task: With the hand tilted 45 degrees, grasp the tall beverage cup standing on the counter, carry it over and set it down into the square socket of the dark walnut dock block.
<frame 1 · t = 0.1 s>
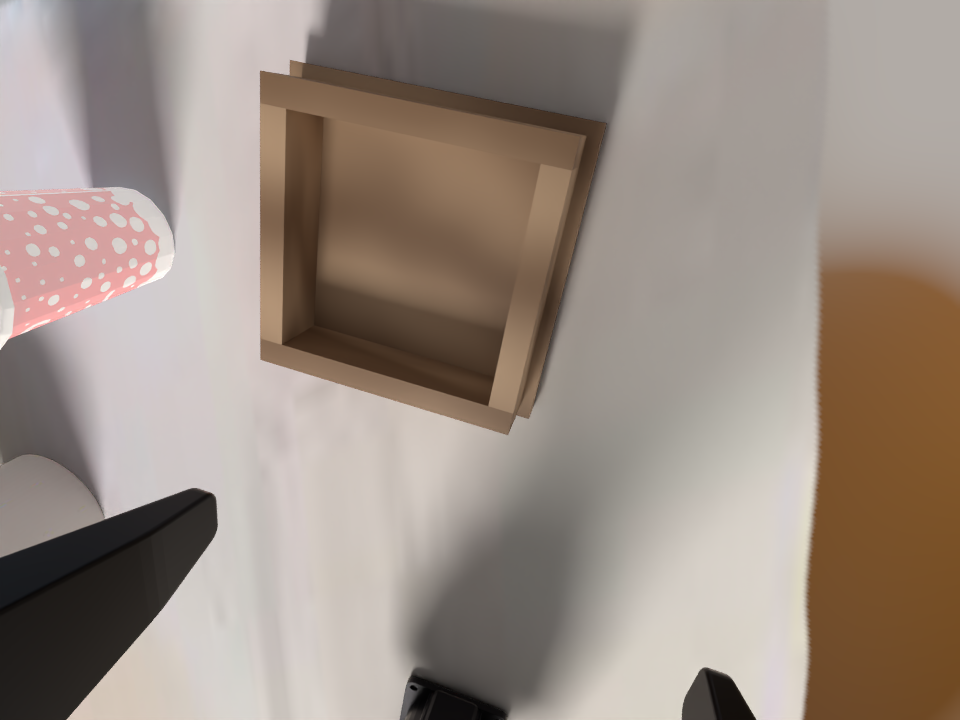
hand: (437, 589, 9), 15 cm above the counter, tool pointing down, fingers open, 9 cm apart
dock: (426, 248, 23), on the counter
beverage cup: (138, 235, 26), on the counter
grey upright cylinder: (59, 503, 37), on the counter
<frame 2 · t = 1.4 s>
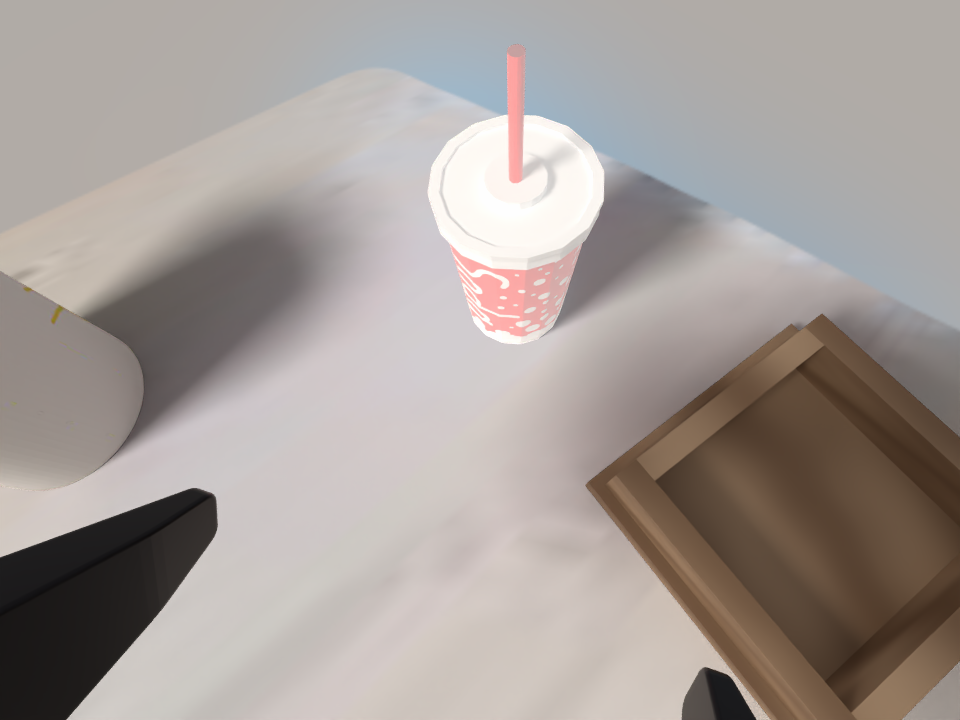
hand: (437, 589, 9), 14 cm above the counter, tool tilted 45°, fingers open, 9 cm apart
dock: (789, 516, 22), on the counter
beverage cup: (514, 304, 27), on the counter
grey upright cylinder: (64, 407, 26), on the counter
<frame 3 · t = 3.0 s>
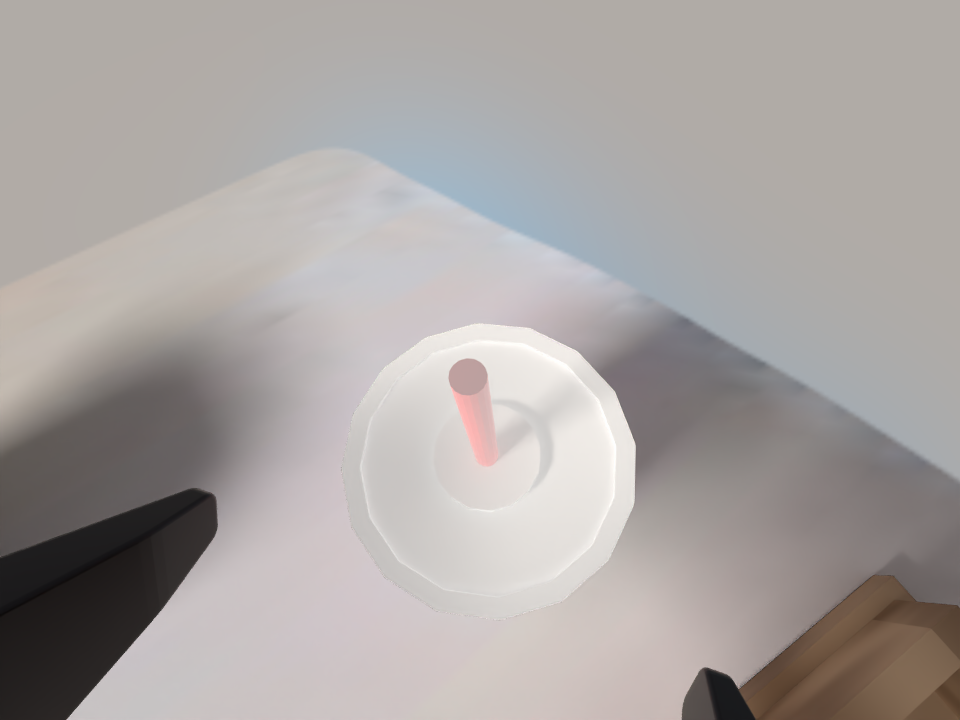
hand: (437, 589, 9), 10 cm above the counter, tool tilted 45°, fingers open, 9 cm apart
beverage cup: (498, 504, 20), on the counter
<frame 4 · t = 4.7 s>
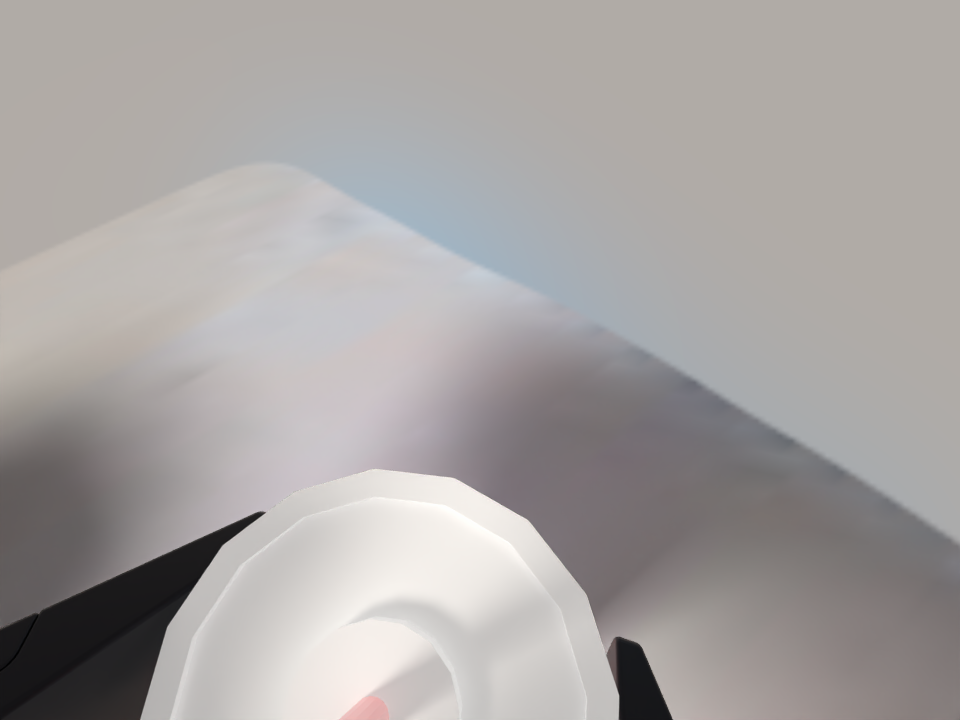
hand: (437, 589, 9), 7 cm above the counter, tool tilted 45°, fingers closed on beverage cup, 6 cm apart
beverage cup: (453, 628, 15), on the counter, touching gripper
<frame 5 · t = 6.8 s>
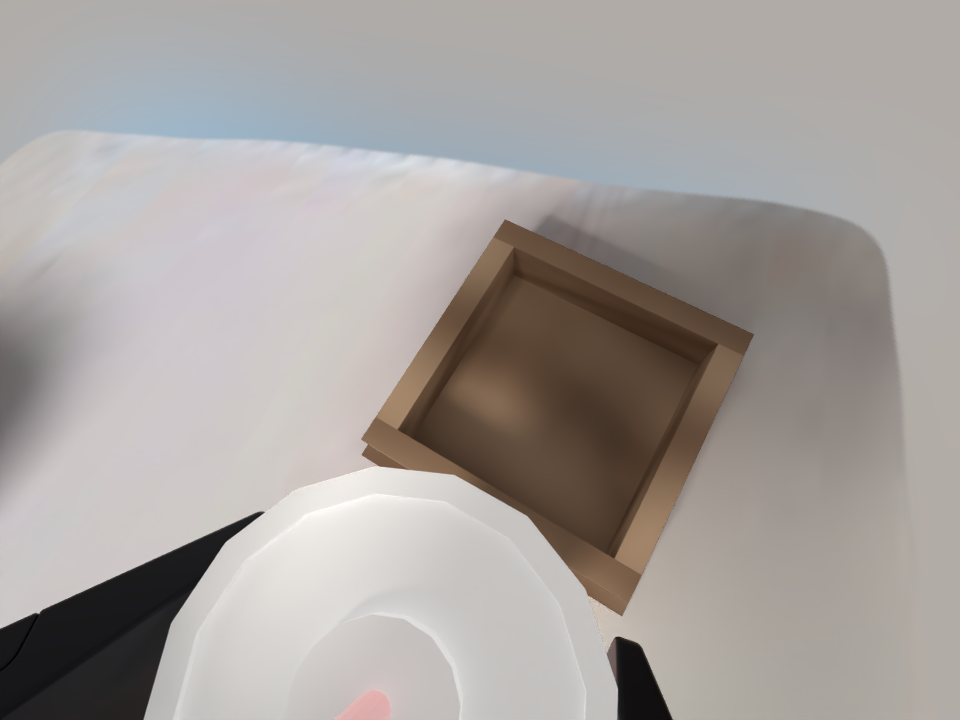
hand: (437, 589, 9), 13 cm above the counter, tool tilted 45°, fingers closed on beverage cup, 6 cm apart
dock: (553, 408, 24), on the counter
beverage cup: (454, 624, 15), point 6 cm above the counter, touching gripper
when the fingers open (9 cm above the counter, at t = 9.1 s): beverage cup drops 1 cm, resting on dock.
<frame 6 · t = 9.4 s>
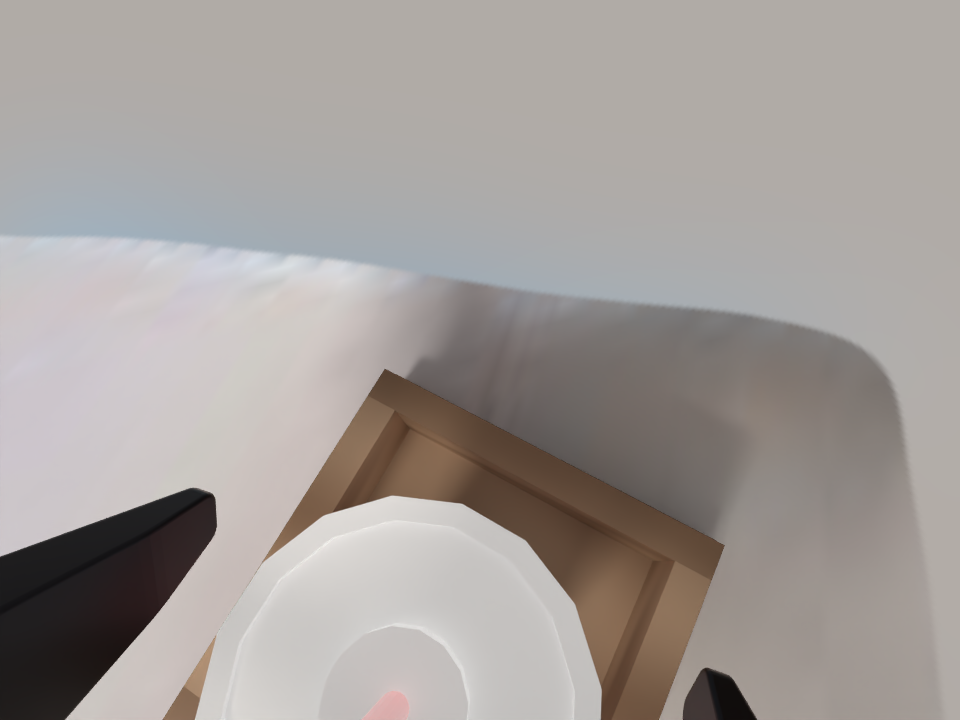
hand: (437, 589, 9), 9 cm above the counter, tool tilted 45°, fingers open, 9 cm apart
dock: (461, 619, 17), on the counter
beverage cup: (455, 628, 17), point 1 cm above the counter, touching dock
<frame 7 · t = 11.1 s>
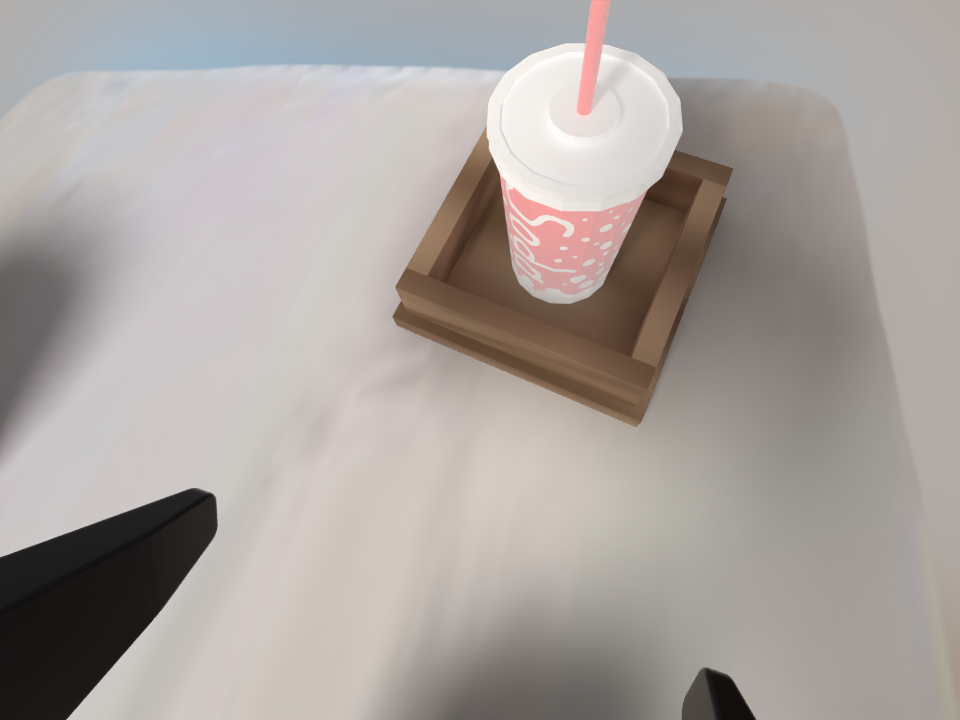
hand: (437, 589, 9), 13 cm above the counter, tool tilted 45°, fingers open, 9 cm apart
dock: (560, 267, 26), on the counter
beverage cup: (560, 262, 25), point 1 cm above the counter, touching dock
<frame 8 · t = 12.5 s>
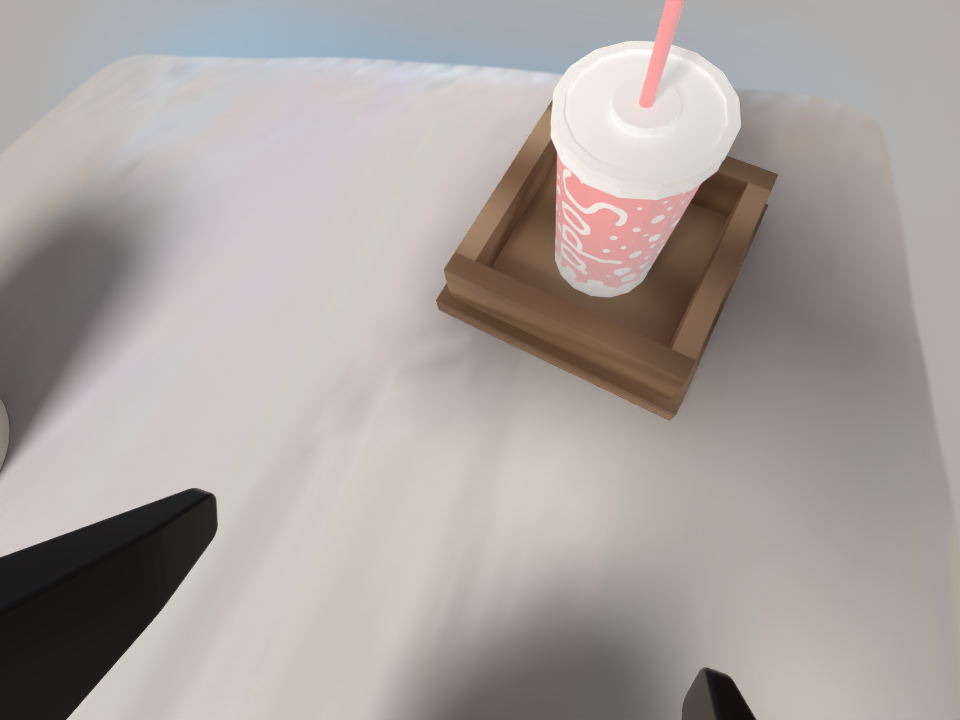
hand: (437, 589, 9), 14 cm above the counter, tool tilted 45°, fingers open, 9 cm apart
dock: (601, 262, 27), on the counter
beverage cup: (601, 257, 26), point 1 cm above the counter, touching dock
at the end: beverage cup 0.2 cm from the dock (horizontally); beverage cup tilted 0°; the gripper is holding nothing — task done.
